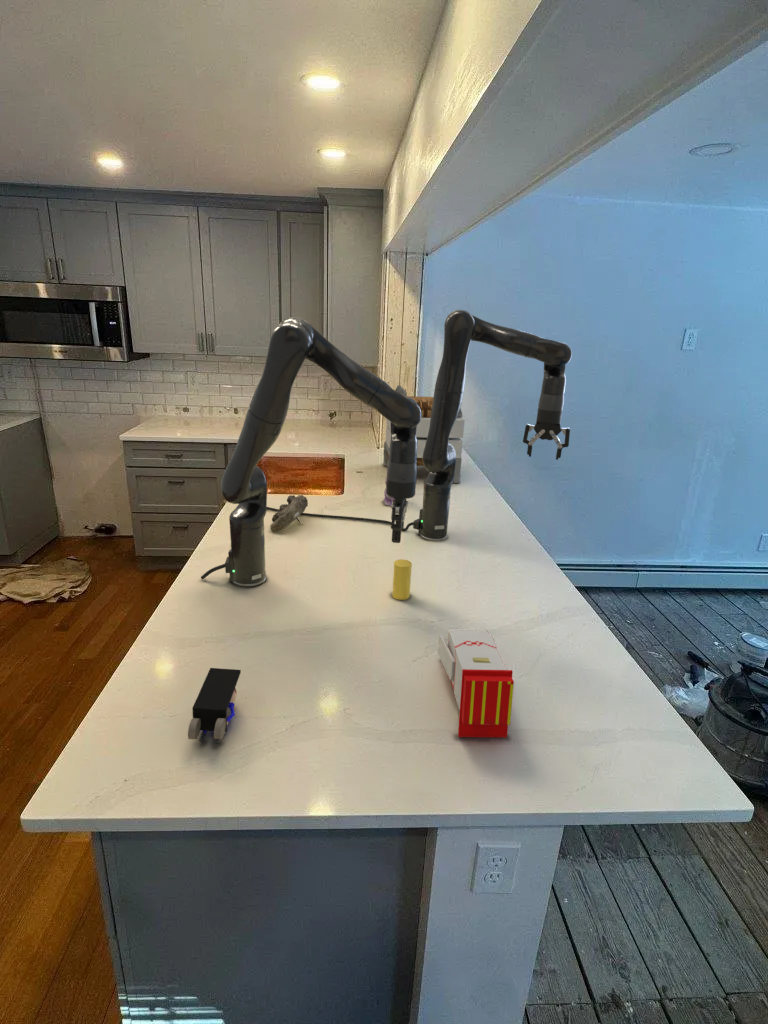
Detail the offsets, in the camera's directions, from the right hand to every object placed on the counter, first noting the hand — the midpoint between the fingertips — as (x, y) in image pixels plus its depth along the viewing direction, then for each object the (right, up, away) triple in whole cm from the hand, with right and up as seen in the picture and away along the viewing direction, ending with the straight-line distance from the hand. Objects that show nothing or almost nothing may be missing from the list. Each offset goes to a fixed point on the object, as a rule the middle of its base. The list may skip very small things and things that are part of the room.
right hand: (543, 457), depth 185 cm
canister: (-47, -41, -28) cm, 68 cm away
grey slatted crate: (-35, +1, +90) cm, 97 cm away
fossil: (-86, -22, +21) cm, 91 cm away
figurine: (-48, -14, +47) cm, 69 cm away
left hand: (-48, -24, -35) cm, 64 cm away
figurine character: (-83, -58, -78) cm, 128 cm away
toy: (-34, -55, -66) cm, 93 cm away
